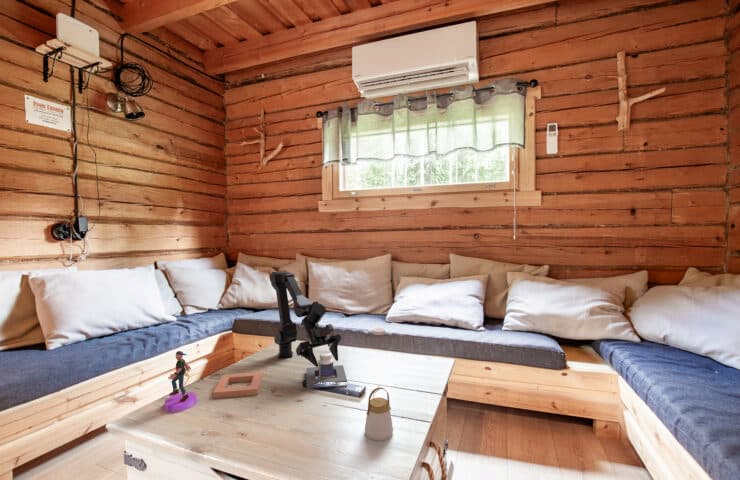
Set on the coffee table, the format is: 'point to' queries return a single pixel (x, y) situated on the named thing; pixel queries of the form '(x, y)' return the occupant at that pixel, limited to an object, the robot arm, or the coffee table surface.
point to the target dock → (223, 391)
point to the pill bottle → (325, 365)
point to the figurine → (182, 399)
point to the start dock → (315, 371)
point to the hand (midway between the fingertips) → (327, 363)
